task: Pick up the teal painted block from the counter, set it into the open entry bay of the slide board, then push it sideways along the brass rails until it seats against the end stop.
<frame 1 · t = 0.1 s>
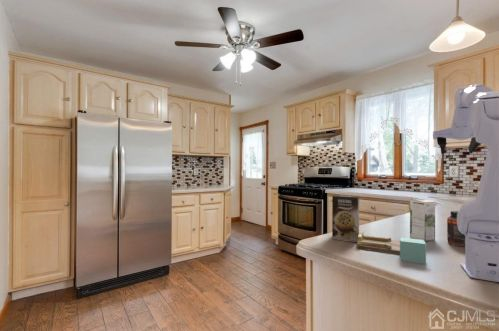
hand: (456, 151, 88), 32 cm above the counter, tool tilted 50°, fingers open, 7 cm apart
syrup box: (422, 239, 93), on the counter
slide board: (388, 247, 84), on the counter
cookie box: (345, 239, 94), on the counter
supplement bottle: (458, 245, 87), on the counter
teal block: (412, 259, 73), on the counter
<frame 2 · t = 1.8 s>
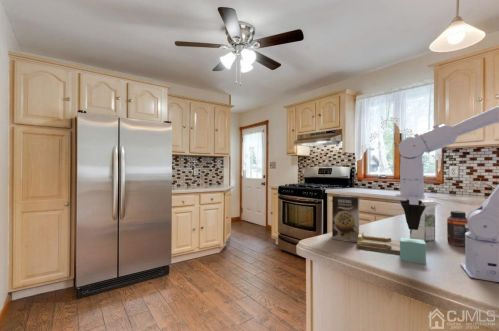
hand: (412, 226, 73), 9 cm above the counter, tool pointing down, fingers open, 7 cm apart
nothing on the counter moved.
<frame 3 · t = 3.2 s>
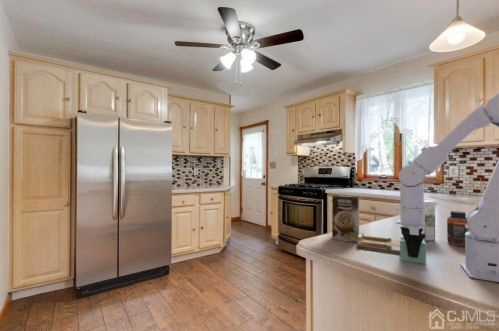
hand: (412, 254, 73), 1 cm above the counter, tool pointing down, fingers closed on teal block, 4 cm apart
teal block: (412, 259, 73), on the counter, touching gripper
everything else where it was.
when the fingers open (4 cm above the counter, at t = 5.6 s): teal block stays where it is, resting on slide board.
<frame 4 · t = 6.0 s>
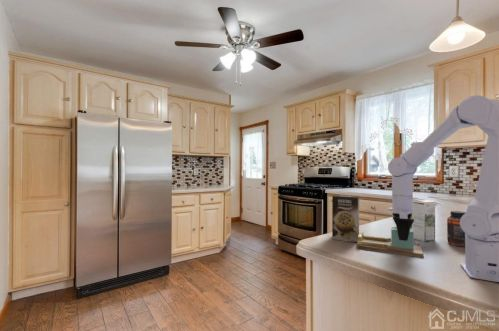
hand: (402, 237, 82), 4 cm above the counter, tool pointing down, fingers open, 7 cm apart
teal block: (402, 246, 82), point 1 cm above the counter, touching slide board
everything else where it was.
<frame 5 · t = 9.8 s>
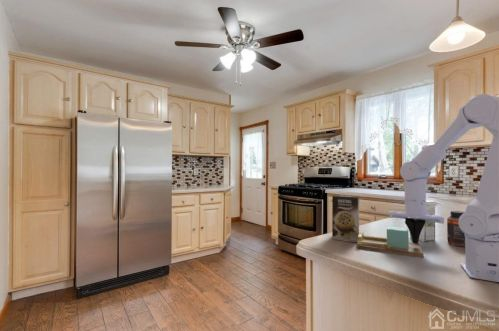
hand: (415, 242, 80), 3 cm above the counter, tool pointing down, fingers closed
teal block: (397, 245, 82), point 1 cm above the counter, touching gripper, slide board
everything else where it was.
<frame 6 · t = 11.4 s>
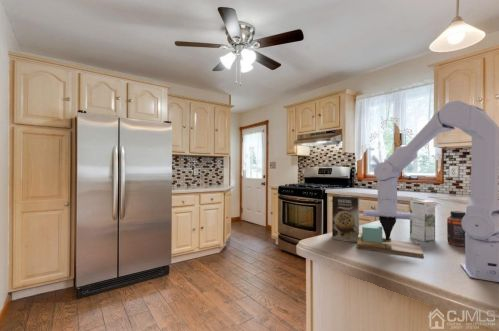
hand: (387, 239, 84), 3 cm above the counter, tool pointing down, fingers closed
teal block: (372, 242, 85), point 1 cm above the counter, touching gripper, slide board
everything else where it was.
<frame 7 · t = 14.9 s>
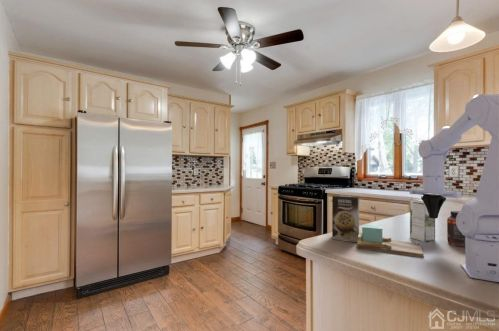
hand: (433, 218, 83), 10 cm above the counter, tool pointing down, fingers closed
teal block: (372, 242, 85), point 1 cm above the counter, touching slide board
everything else where it was.
at the end: teal block 0.8 cm from the target spot on the slide board, point 1.0 cm above the slide board's base; teal block tilted 0°; the gripper is holding nothing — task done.
